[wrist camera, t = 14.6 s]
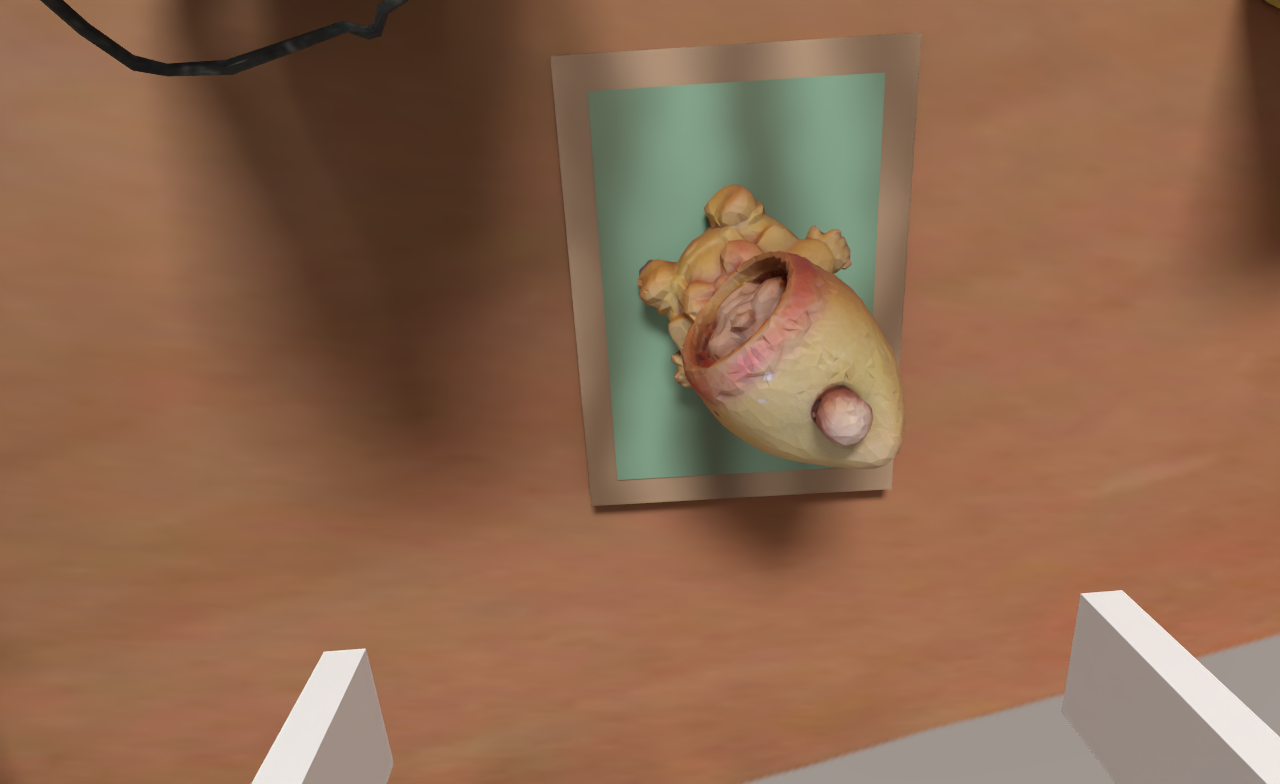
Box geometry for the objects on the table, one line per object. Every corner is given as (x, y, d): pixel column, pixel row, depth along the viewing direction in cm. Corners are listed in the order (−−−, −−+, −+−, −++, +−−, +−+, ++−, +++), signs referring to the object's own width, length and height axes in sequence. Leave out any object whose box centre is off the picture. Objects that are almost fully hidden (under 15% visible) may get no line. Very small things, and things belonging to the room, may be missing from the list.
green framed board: (592, 495, 41) (591, 506, 40) (553, 58, 33) (549, 56, 32) (884, 478, 41) (892, 489, 39) (911, 35, 33) (922, 32, 32)
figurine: (740, 141, 33) (904, 245, 20) (842, 242, 36) (1038, 385, 24) (598, 305, 36) (665, 489, 23) (705, 385, 39) (816, 585, 26)
